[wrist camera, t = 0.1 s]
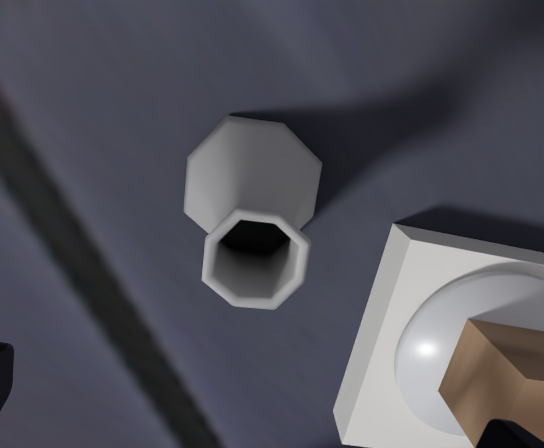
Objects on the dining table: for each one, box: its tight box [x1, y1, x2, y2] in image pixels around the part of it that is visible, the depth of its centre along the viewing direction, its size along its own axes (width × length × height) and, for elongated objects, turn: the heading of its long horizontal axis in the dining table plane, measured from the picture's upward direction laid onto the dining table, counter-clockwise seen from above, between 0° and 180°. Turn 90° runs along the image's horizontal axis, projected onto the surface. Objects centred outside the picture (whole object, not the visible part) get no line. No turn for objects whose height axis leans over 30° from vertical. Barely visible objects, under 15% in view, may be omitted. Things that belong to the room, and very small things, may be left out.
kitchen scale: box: [333, 223, 544, 448], centre depth 23 cm, size 13×12×4 cm
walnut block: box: [438, 318, 544, 448], centre depth 19 cm, size 4×4×4 cm
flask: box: [184, 115, 323, 310], centre depth 16 cm, size 7×7×10 cm
